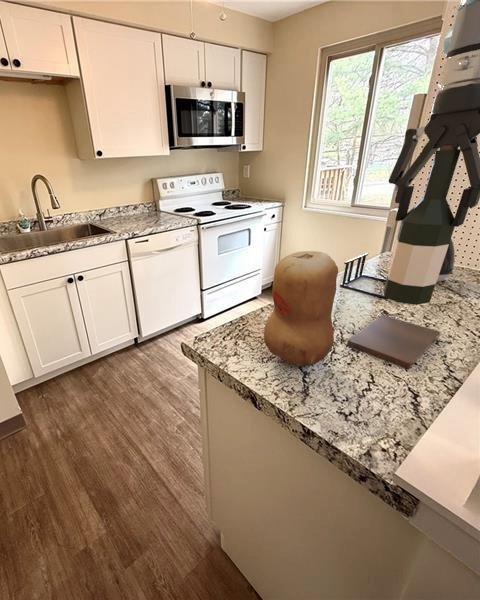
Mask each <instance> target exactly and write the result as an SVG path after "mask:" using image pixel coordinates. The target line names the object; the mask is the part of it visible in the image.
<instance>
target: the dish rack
mask: <svg viewBox="0 0 480 600" xmlns="http://www.w3.org/2000/svg"><path fill="white" fill-rule="evenodd" d="M368 255H369V253H368V252H366V253H364V254H361V255H358V256H356V257H354V258H351V259H349V260H346V261H344V263H343V264H344V265H345V267H344V273H343V277H342V282H341V283H339V287H340V288H344V289H347V290H349V291H354V292H358V293H361V294H365V295H368V296H372V297H375V298H378V299H383V300H389V299H388V298H386V297H384V294H380V293H377V292H373V291H370V290H366V289H362V288H358V287H355V286H351V285H349V284H350V283H353V282H355V281H357V280H359V279H361V278H367V279H369V280H375V281H379V282H383V283H386V280H387V278H382V277H378V276H374V275H370V274H365V273H363V272H364V267H365V263H366V258H367V256H368ZM355 261H357V264H356V267H355V268H356V269H355V273H354V277H352V274H353V268H354V263H355Z"/></svg>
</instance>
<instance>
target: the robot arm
mask: <svg viewBox="0 0 480 600" xmlns="http://www.w3.org/2000/svg"><path fill="white" fill-rule="evenodd" d="M443 53H444V55H445V56H446V57H445V60H444V63H443V67H442V71H441V75H440V79H439V83H438V87H439V88H441V90H439V91H438V92H437V93H435V97H434V101H433V105H432V108H431V112H430V118H429V120H428V121H427V123H426V124H425V125H424V126H420V127H413V128H408V129H407V130H406V131H405V133H404V134H405V135H404V144H403V146H402V147H401V151H400V153H399V155H398V158H397V159H396V162H395V164H394V166H393V169H392V171H391V173H390V176H389V178H388V183H389V184H393V185H395V186H397V191H396V194H395V198H394V202H395V204H398V208H397V212H396V216H395V219H394V220H395V221H396V222H401V221H402V218H403V217H404V216H405V215H406V214H407V213H408V212H409V208H410V204H411V200H412V197H413V193H414V190H415V186H414V185H412V182H413V181H414V179H415V178H417V176H418V175H419V173H420V172H421V171H422V169H423V168H424V167H425V165H426V164H427V163H428V162H429V160H430V159H431V158H432V157H433V155H435V153H436V151H439V150H440V148H442V146H446V145H452V147H458V148H459V149H460V150H461V152H460V153H461V154H462V157H463V161H464V165H465V170H466V173H467V177H468V181H469V185H470V186H469V187H467V188H464V189H463V190H462V195H461V197H460V199H459V203H458V206H457V208H456V212H455V215H454V221H453V224H452V226H454V227H456V228H457V227H461V226H462V225H464V223H465V220H466V217H467V214H468V211H469V209H470V208H471V209H473V208H475V207H476V206H478V205H479V202H480V152H479V148H478V147H479V144H478V140H477V137H478V136H479V135H480V0H459V3H458V6H457V8H456V15H455V19H454V23H453V25H452V26H451V27H450V29H449V30H448V32H447V34H446V35H445V38H444V42H443ZM424 134H425V135H426V137H427V139H428V141H427V143H426V144H425V145H424V147H423V148H422V150H421V152H420V153H419V155H418V156H417V157H416V159H415V160H414V161H413V163H412V164H411V165H410V167H409V168H408V169H407V167H408V165H409V163H410V161H411V158H412V156H413V154H414V152H415V150H416V148H417V145H418V142H419V140H421V139H422V137H423V135H424ZM406 169H407V171H406Z"/></svg>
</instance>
